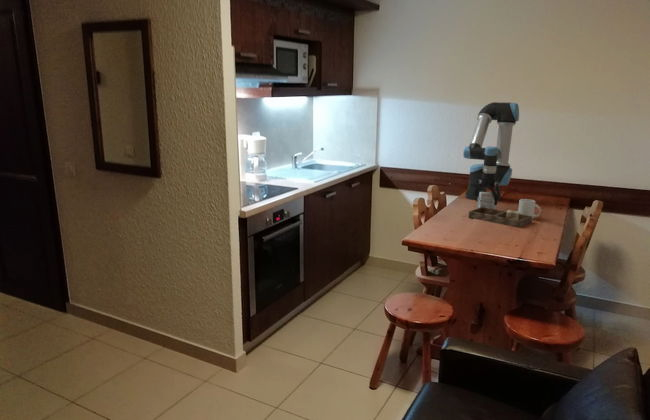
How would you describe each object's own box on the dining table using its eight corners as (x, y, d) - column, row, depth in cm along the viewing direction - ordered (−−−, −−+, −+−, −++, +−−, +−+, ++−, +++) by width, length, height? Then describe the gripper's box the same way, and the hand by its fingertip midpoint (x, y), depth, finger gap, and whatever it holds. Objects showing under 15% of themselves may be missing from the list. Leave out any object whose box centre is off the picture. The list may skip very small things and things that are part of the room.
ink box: (491, 210, 298) (493, 191, 295) (493, 212, 293) (495, 193, 290) (477, 209, 298) (479, 191, 295) (479, 211, 294) (481, 192, 291)
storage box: (468, 217, 279) (469, 211, 278) (481, 213, 290) (482, 206, 289) (519, 228, 259) (520, 221, 258) (531, 223, 270) (532, 216, 269)
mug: (537, 222, 272) (539, 203, 269) (515, 218, 279) (517, 200, 276) (541, 219, 279) (543, 201, 276) (519, 215, 285) (521, 198, 283)
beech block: (505, 222, 268) (506, 212, 267) (507, 220, 273) (508, 209, 272) (516, 224, 265) (517, 213, 264) (518, 221, 270) (519, 211, 269)
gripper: (469, 170, 295) (466, 206, 300) (504, 175, 280) (500, 212, 285) (475, 169, 300) (472, 204, 305) (509, 174, 285) (505, 210, 290)
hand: (485, 208), depth 295 cm, fingers closed on ink box, 9 cm apart
